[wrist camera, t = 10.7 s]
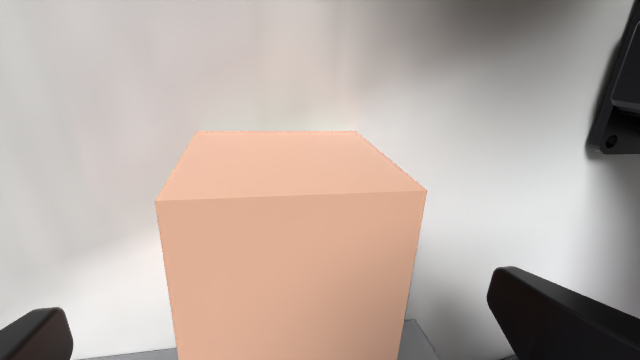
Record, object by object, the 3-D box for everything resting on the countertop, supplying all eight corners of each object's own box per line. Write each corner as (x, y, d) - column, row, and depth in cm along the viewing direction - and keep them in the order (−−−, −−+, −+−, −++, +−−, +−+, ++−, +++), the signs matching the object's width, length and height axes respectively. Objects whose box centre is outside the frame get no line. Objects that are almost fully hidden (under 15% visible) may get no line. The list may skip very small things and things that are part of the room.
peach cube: (354, 130, 11) (427, 190, 7) (343, 257, 13) (394, 371, 8) (196, 130, 10) (155, 200, 6) (209, 267, 12) (184, 403, 8)
